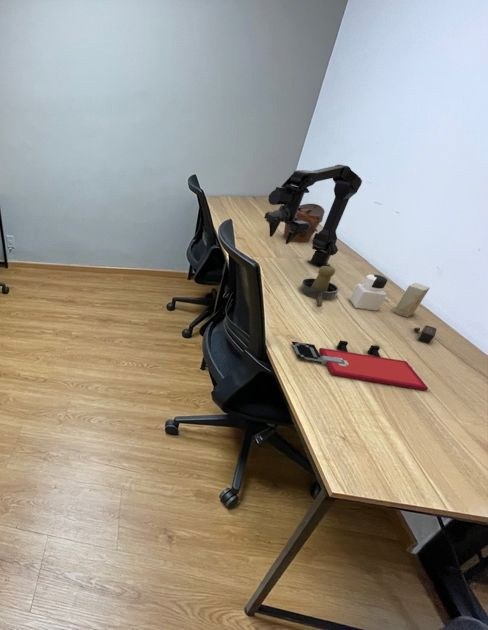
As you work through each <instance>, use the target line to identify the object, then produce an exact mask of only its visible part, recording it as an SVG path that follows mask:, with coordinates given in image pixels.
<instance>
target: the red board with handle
mask: <svg viewBox="0 0 488 630" xmlns="http://www.w3.org/2000/svg"><path fill="white" fill-rule="evenodd" d="M348 344H349V342H348V341H346V340H339V341H338V343H337V345H336V346H335V347H336V349H331V348H325V347H319V349H317V347H316V345H315V344H312V343H305V342H299V341H292V340H291V345H292V346H293V349H294V351H295V354H296V356H297V358H298V359H303V360H307V361H308V360H309V361H315V362H320V364H321V365H323V366H326V367H327V369H328V371H329V373H330V374H331V375H333V376H339V377H345V378H349V379H356V380H361V381H369V382H374V383H379V384H384V385H385V384H386V385H391V386H397V387H404V388H410V389H414V390H420V391H428V389H429V387H428V386H427V385H426V383H425V382H424V381H423V380H422V378H421V377H420V376H419V375H418V373H417V372H416V371H415V370H414V369H413V368H412V366H411V365H410V364H409V363H408V361H407V360H401V359H395V358H388V357H381V356H380V353H379V350H380V349H381V347H380V345H373V344H371V345H370V347H369V348H368V349H367V354H362V353H357V352H349V351H348V347H347V346H348ZM319 353H320V354H319Z"/></svg>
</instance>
